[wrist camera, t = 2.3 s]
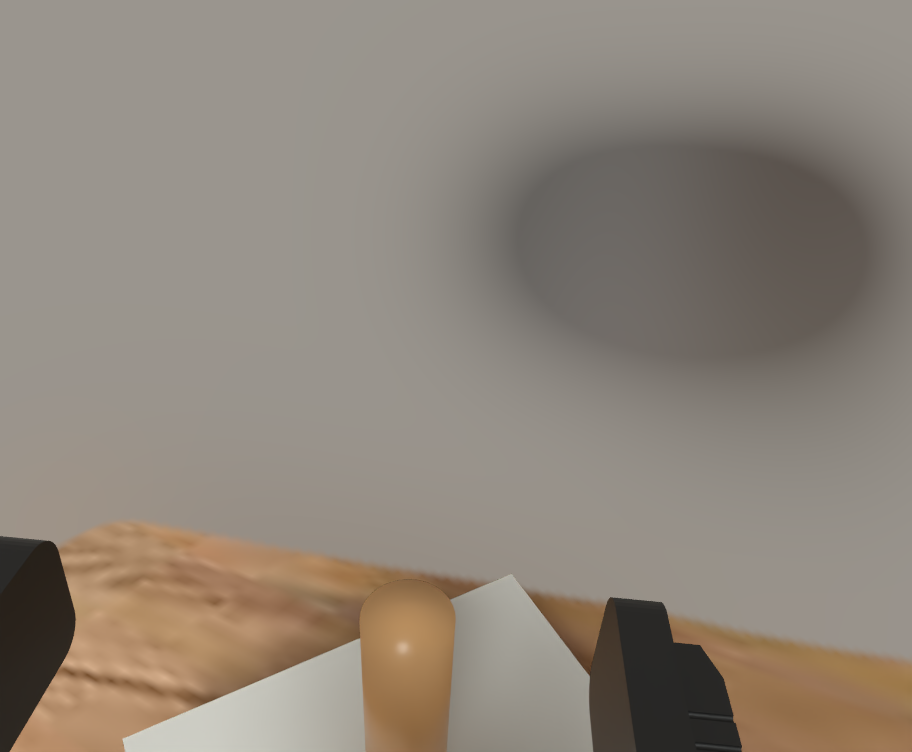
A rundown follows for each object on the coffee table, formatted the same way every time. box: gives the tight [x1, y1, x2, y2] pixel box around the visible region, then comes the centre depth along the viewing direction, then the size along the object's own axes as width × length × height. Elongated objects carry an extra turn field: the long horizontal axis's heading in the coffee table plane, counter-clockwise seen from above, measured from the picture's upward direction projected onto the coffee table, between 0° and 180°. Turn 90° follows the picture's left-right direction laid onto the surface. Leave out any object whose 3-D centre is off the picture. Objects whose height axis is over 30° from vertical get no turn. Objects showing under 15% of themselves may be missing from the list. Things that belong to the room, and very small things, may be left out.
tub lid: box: [123, 574, 593, 752], centre depth 30 cm, size 20×15×14 cm
